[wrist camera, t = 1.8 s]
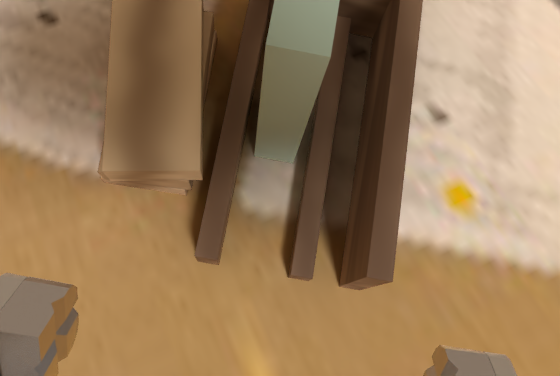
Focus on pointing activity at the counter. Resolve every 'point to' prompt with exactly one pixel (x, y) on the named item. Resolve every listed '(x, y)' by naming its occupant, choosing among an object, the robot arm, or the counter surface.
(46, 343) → the robot arm
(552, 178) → the counter surface
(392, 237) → the walnut rack
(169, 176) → the ash offcut top
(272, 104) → the sage foam brick
